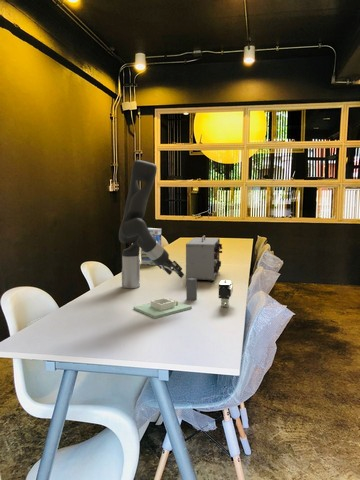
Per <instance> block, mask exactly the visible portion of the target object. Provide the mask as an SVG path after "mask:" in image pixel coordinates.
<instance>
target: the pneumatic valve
mask: <svg viewBox="0 0 360 480" xmlns="http://www.w3.org/2000/svg"><path fill="white" fill-rule="evenodd" d="M233 289H234V285H233V282H232V280H229V279H221V280H220V282H219V284H218V299H220V307H222V308H223V307H224V308H229V306H230V298H231V297H232V295H233V292H234V290H233Z"/></svg>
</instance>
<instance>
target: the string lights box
mask: <svg viewBox="0 0 360 480" xmlns="http://www.w3.org/2000/svg"><path fill="white" fill-rule="evenodd" d="M147 228H148V230H149V232H150V234H151V236H152V237H153V238H154V239H155V240H156V241H157V242H158V243H159V244H160V245H161V246H162V228H155V227H154V228H153V227H147ZM140 255H141V256H140V261H141V264H140V265H147V264H149V265H151V266H157V265H156V264H155V263H154V262H153V261H152V260H151V259H150V258H149V257H148V256H147V255H146V253H145V252H144V251H143V250H142V249H141V248H140Z"/></svg>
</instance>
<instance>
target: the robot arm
mask: <svg viewBox="0 0 360 480" xmlns="http://www.w3.org/2000/svg"><path fill="white" fill-rule="evenodd" d="M157 170H158V168H157V165H156V164H155V163H153V162H149V161H145V160H141V159H136V160H134V162H133V164H132V166H131V173H130V174H131V175H130V180H129V187H128V192H127V195H126V197H127V198H126V201H125V205H124V213H123V218H122V220H121V223H120V226H119V229H118V230H119V231H118V240H119V242H120V243H122V244H131V245H130V246H128V247H127V248H124V249H123V250H122V252H121V254H122V259H121V260H122V261H121V262H122V269H121V288H124V289H136V288H140V286H141V279H140V278H141V274H140V273H141V271H140V270H141V269H140V268H141V267H140V265H141V264H140V261H141V260H140V252H141V249H142V250H143V251H144V252H145V253H146V255H147V256H148V257H149V258H150V259H151V260H152V261H153V262H154V263H155V264H156V265H155V266H157V267H158V268H159V269H161V270H162V271H164V272H166V273H167V274H168V275H169V276H171V274H173V272H174V273H175V274H177V276H178V277H179V278H180V279H182V278H184V275H185V273H184V272H183V271H182V270H183V268H182V267H181V265H180V264H178V262H177V261H176V260H172V259H170V257H169V256H170V254H169V252H168V251H167V250H166V249H165V248H164V247H163V246H162V244H161V245H160V244H159V243H158V242H157V241H156V240H155V239H154V238H153V237H152V236H151V234H150V232H149V230H148V228H149V227H148V226H147V223H146V222H145V221H144V220H143V219H144V217H145V214H146V209H147V206H148V205H147V204H148V201H149V197H150V194H151V192H152V189H153V186H154V182H155V180H156V176H157ZM139 182H143V183H145V185H143V187H141V188H140V186H139Z"/></svg>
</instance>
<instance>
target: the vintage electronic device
mask: <svg viewBox="0 0 360 480" xmlns="http://www.w3.org/2000/svg"><path fill="white" fill-rule="evenodd" d="M220 242H221V240H220V238H218V237H206V235H203V236H202V237H193V238H192V239H190V240H189V241H188V242H187V243H185V280H186V279H188V278H195V279H197V280H204V281H205V280H206V281H208V282H209V283H212V282H213V281H215V279H216V277H217V275H218V272H219V271H220V267H221V266H222V261H221V260H220V254H222V253H223V246H222V245H223V243H220Z"/></svg>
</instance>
